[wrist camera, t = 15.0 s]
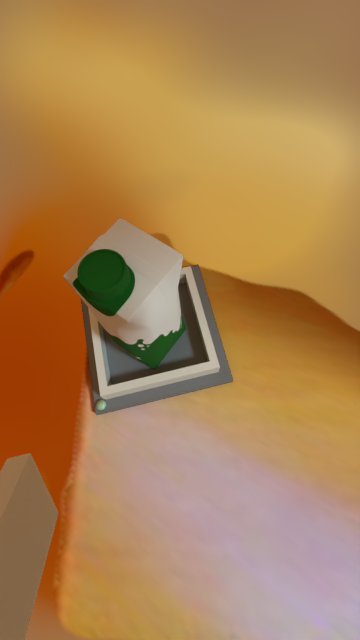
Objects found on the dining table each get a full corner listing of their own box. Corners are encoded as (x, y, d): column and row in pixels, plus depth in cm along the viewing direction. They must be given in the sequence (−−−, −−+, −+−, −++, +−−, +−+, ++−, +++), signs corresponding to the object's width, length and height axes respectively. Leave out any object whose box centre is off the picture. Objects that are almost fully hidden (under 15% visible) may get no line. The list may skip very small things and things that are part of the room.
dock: (198, 267, 50) (198, 254, 47) (232, 381, 43) (235, 375, 40) (82, 294, 49) (74, 283, 46) (97, 415, 42) (89, 411, 39)
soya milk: (106, 342, 45) (42, 263, 27) (147, 294, 48) (114, 191, 29) (156, 379, 43) (123, 321, 24) (196, 327, 45) (194, 237, 27)
